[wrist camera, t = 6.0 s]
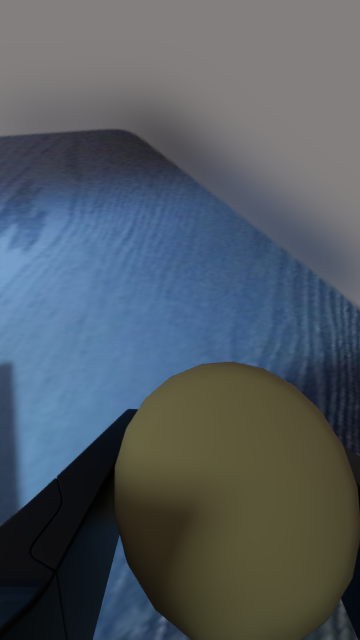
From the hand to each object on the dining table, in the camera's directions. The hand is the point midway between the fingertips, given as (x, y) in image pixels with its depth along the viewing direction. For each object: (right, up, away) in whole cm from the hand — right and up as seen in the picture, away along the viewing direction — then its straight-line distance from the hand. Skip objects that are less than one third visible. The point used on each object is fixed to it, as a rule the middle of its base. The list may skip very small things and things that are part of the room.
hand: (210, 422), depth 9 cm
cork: (0, -4, +5) cm, 7 cm away
